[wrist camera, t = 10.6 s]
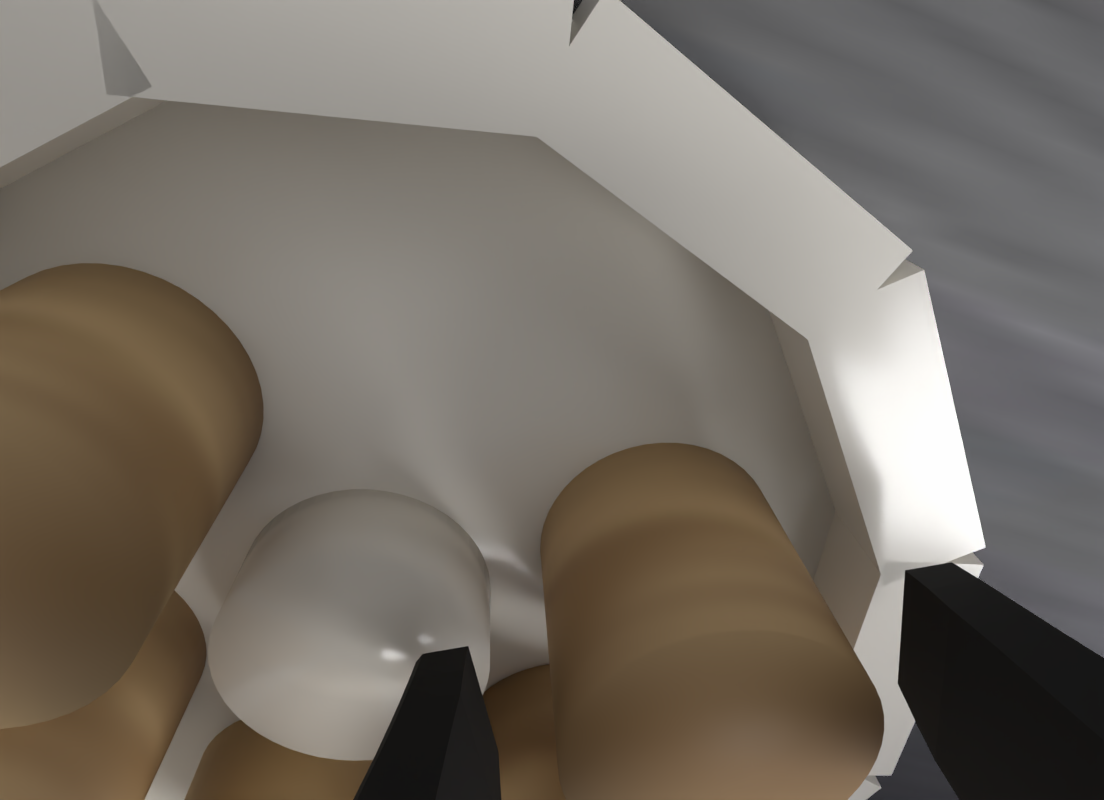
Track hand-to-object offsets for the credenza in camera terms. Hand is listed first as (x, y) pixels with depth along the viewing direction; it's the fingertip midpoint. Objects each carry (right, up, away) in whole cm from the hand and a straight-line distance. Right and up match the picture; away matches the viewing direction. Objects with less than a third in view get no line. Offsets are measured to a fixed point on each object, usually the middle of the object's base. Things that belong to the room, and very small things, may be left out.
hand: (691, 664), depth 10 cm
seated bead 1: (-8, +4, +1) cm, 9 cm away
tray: (-5, +1, +3) cm, 6 cm away
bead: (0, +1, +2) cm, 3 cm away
